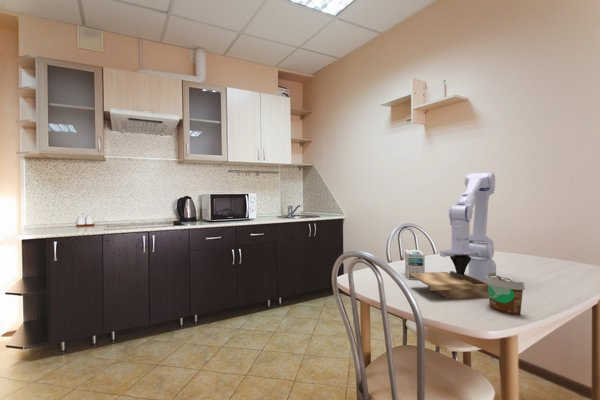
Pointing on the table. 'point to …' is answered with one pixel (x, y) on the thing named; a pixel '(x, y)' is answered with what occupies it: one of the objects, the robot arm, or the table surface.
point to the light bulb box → (414, 262)
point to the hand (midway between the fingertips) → (460, 275)
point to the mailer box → (467, 290)
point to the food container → (504, 294)
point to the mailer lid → (442, 280)
